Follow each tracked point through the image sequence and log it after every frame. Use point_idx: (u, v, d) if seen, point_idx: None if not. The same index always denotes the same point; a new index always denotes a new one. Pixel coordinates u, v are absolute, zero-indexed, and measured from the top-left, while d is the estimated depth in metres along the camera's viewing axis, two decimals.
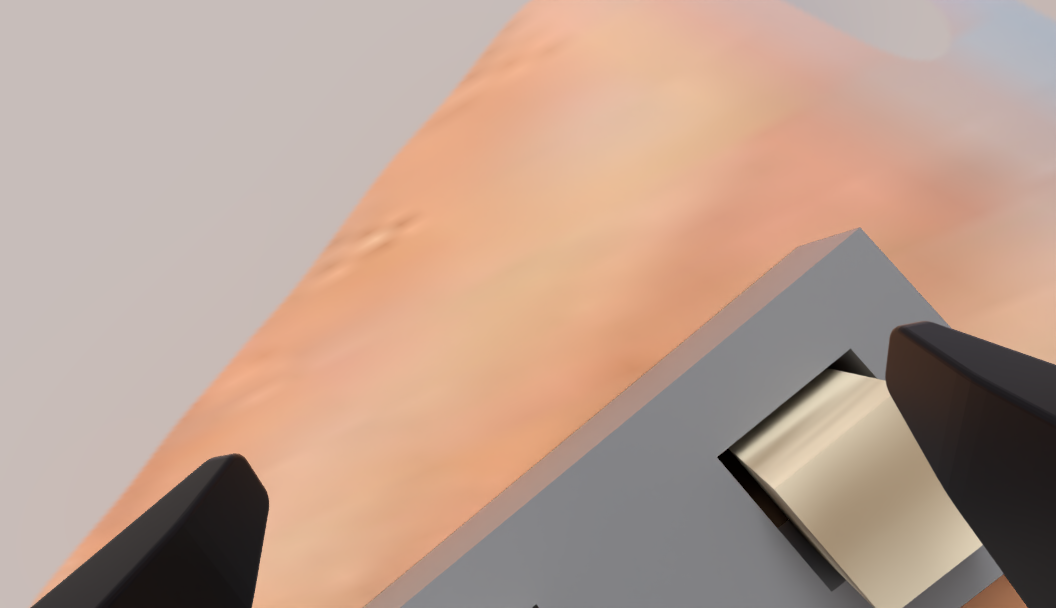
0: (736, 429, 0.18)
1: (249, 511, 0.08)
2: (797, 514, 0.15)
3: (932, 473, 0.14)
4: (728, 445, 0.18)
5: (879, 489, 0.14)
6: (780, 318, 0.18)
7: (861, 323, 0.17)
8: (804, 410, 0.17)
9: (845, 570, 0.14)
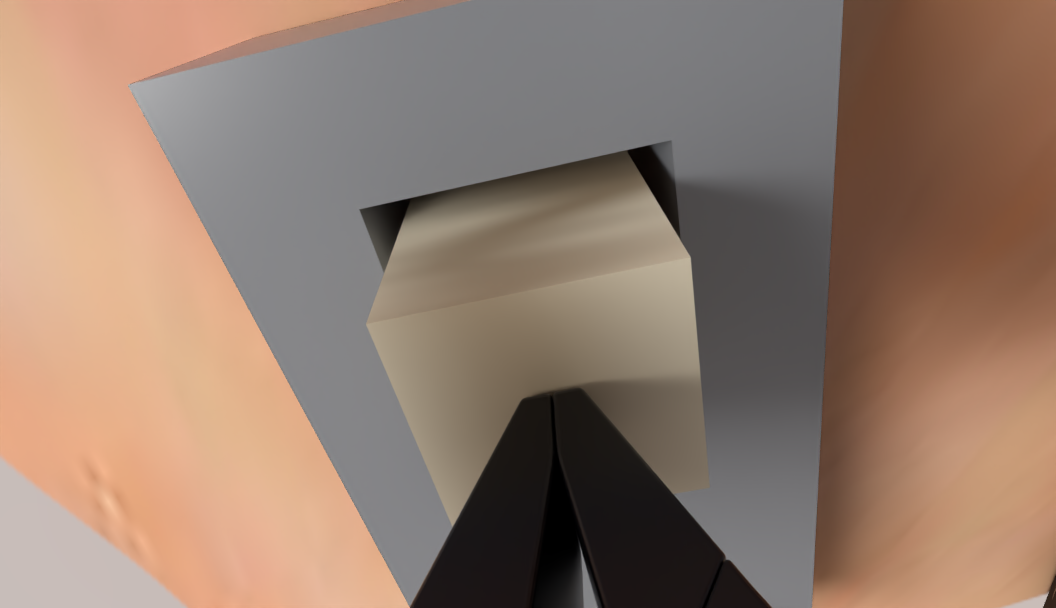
0: None
1: None
2: None
3: (539, 352, 0.08)
4: None
5: None
6: (270, 284, 0.10)
7: (320, 172, 0.09)
8: None
9: None
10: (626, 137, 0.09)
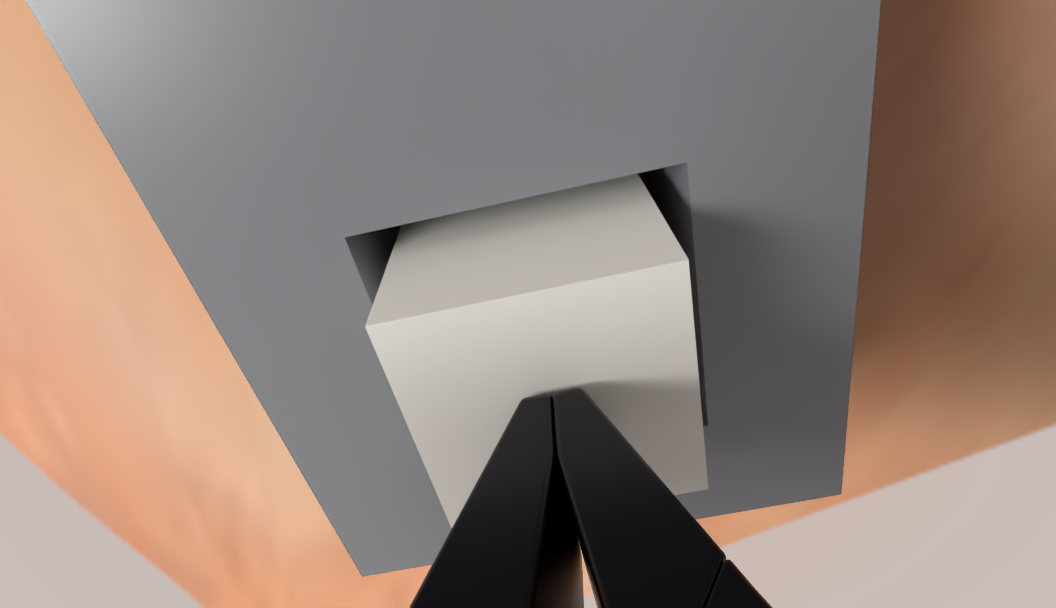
0: None
1: None
2: None
3: None
4: None
5: None
6: None
7: None
8: None
9: None
10: None
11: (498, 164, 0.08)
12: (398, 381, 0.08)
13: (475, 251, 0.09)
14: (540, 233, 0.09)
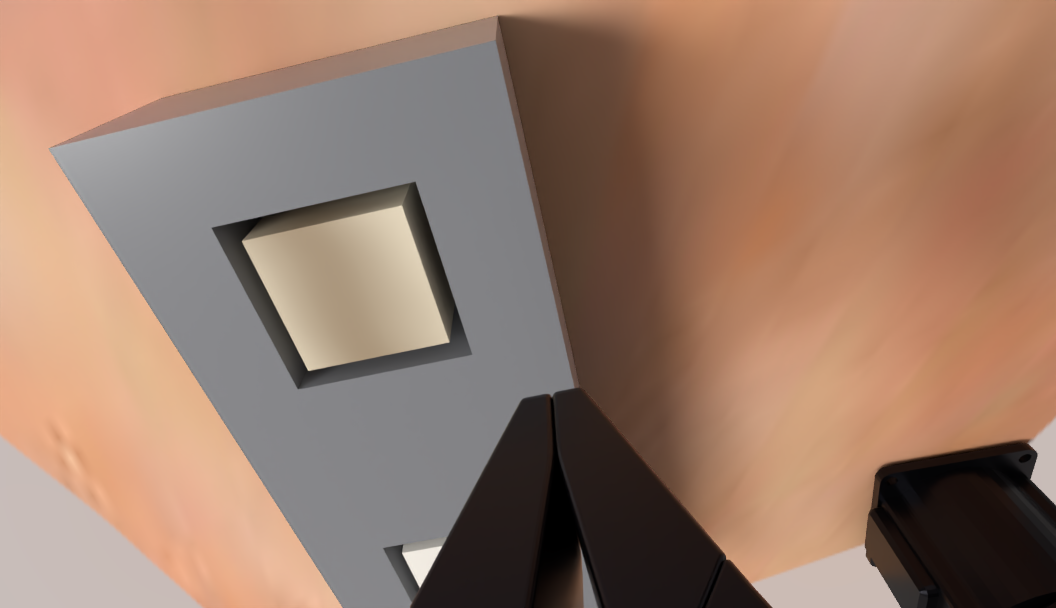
0: (274, 363, 0.16)
1: None
2: (336, 363, 0.16)
3: (334, 257, 0.15)
4: (289, 375, 0.16)
5: (335, 301, 0.15)
6: (156, 278, 0.15)
7: (181, 203, 0.14)
8: None
9: (397, 351, 0.16)
10: (384, 180, 0.14)
11: (448, 524, 0.20)
12: (413, 569, 0.21)
13: None
14: None
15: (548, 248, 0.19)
